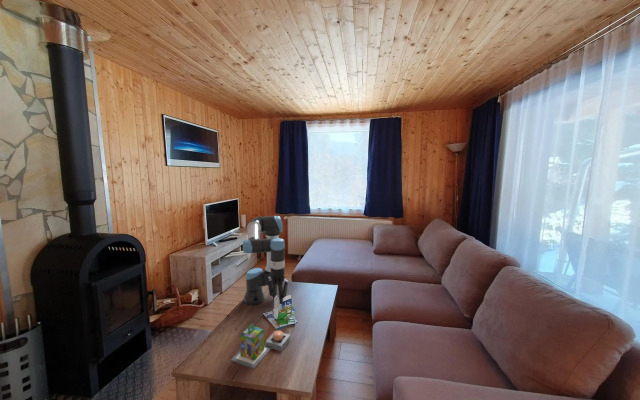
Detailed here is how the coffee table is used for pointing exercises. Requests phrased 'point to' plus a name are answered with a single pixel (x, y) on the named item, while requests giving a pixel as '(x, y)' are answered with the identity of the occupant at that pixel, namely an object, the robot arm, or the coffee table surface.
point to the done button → (277, 335)
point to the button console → (276, 345)
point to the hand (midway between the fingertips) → (277, 308)
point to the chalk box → (251, 342)
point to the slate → (250, 362)
